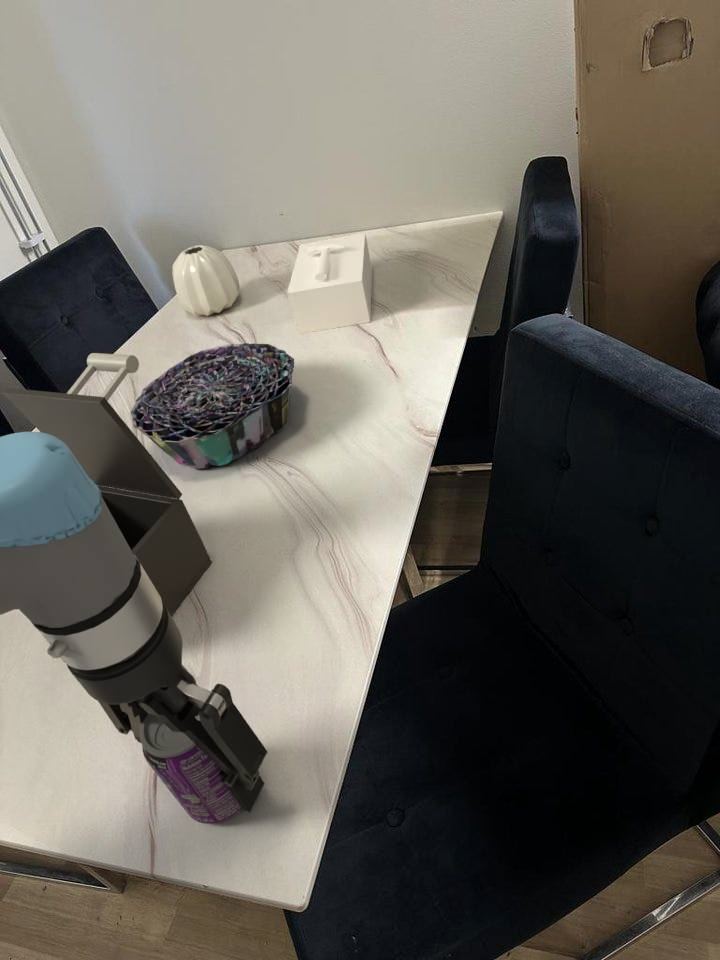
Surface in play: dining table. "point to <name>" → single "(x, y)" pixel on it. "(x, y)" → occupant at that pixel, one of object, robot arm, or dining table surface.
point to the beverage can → (187, 772)
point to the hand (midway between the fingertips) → (218, 782)
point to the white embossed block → (331, 284)
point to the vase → (204, 280)
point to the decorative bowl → (217, 403)
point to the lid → (97, 430)
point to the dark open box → (160, 541)
